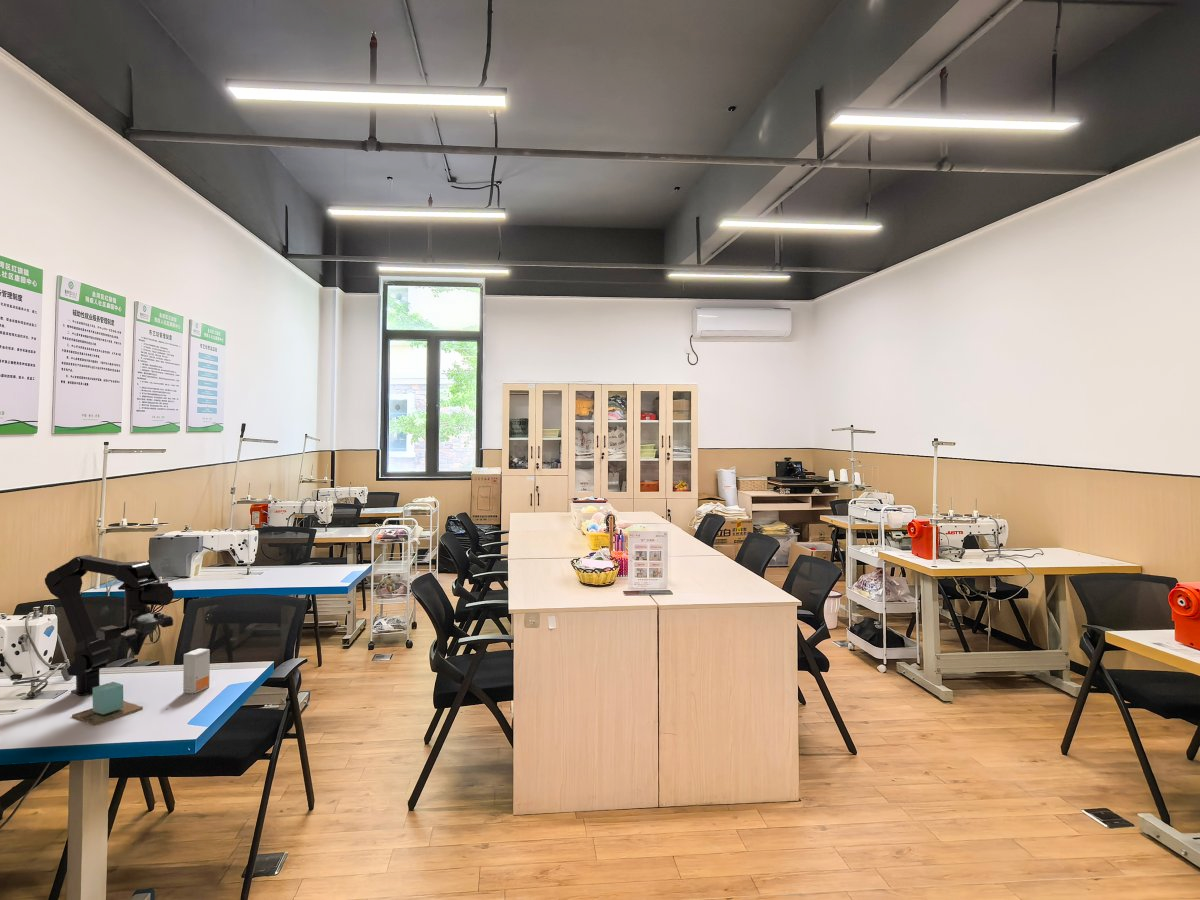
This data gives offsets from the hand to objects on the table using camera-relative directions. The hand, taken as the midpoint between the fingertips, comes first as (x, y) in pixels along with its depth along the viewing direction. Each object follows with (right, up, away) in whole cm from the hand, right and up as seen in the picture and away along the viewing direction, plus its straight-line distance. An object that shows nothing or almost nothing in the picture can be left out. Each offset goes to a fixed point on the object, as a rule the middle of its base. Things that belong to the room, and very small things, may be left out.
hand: (136, 654), depth 198 cm
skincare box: (+17, -12, +3) cm, 21 cm away
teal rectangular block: (+2, -11, -14) cm, 18 cm away
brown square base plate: (+2, -12, -14) cm, 19 cm away
